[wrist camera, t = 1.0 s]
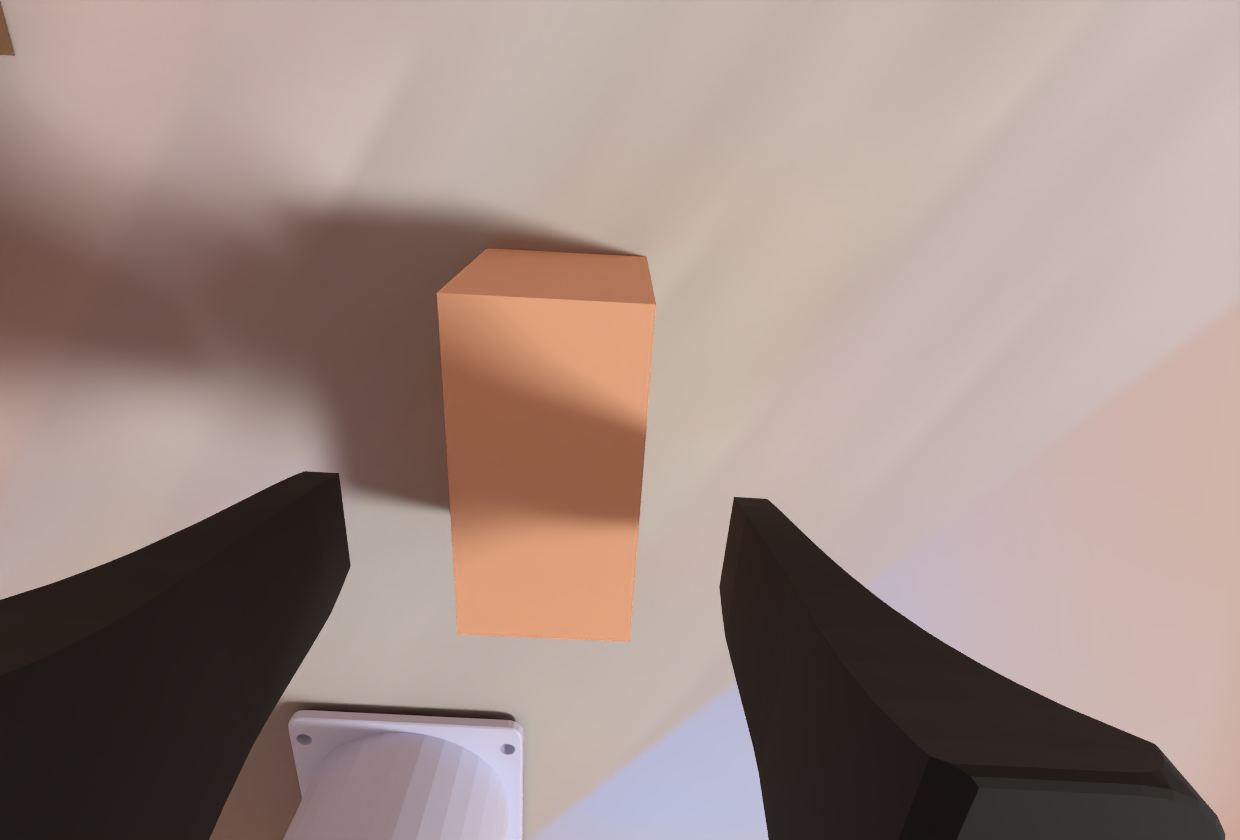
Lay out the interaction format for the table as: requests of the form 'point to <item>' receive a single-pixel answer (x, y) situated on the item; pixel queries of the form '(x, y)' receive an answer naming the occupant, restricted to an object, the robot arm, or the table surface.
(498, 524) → the block
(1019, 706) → the robot arm
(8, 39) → the wooden l-shaped bracket
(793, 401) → the table surface
